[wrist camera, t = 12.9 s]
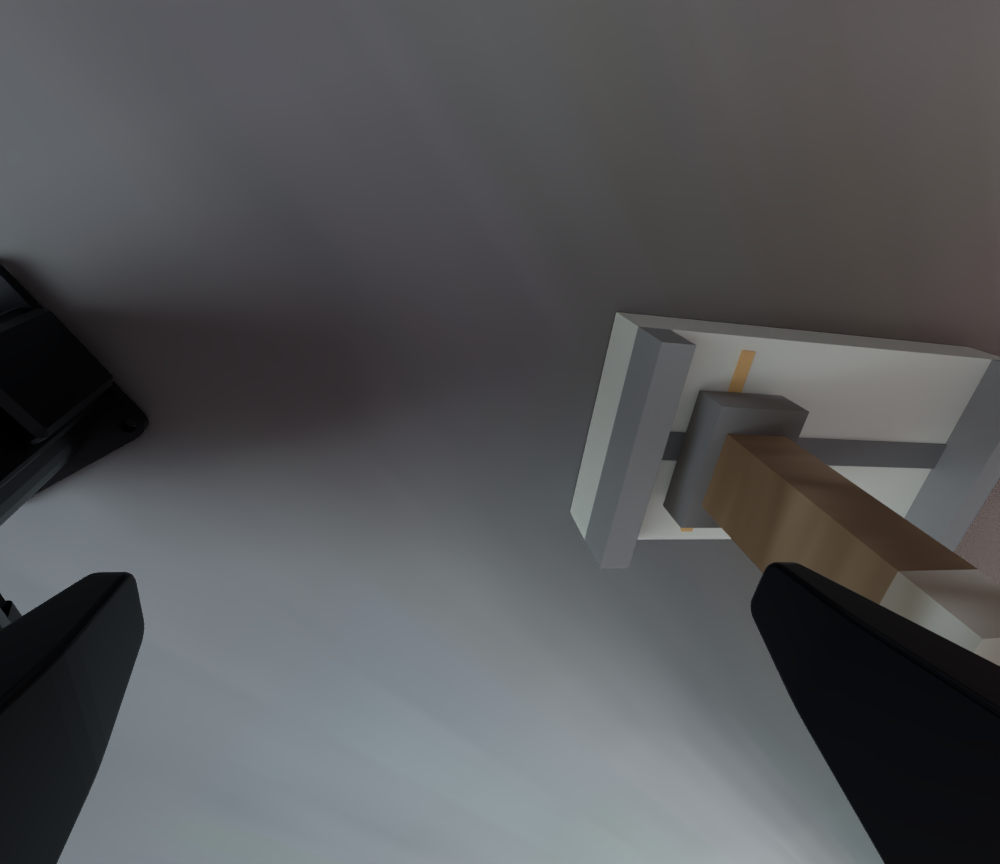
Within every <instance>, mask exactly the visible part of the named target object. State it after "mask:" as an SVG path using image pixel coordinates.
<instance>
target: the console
mask: <svg viewBox="0 0 1000 864" xmlns="http://www.w3.org/2000/svg"><path fill="white" fill-rule="evenodd" d="M699 390H706V391H721V392H736V393H752V394H767V395H782V396H784V397H785V398H787V399H789V400H790V401H792V402H794V403H795V404H797V405H799V406H800V407H802V408H804V409H805V410H807V411H809V414H808V416H807V419H806V421H805V424H804V426H803V428H802V431H801V433H800V435H799V438H798V440H797V443H796V444H797V445H799V446H800V447H802V448H803V449H805V450H806V451H808V452H809V453H810V454H812V455H813V456H815V457H816V458H818V459H819V460H821V461H822V462H823V463H825V464H826V465H828V466H829V467H831V468H832V469H834V470H835V471H836V472H838V473H839V474H841V475H842V476H844V477H845V478H847V479H848V480H849V481H851V482H852V483H854V484H855V485H857V486H858V487H860V488H861V489H863V490H864V491H865V492H867V493H868V494H870V495H871V496H873V497H874V498H876V499H877V500H878V501H880V502H881V503H883V504H884V505H886V506H887V507H889V508H890V509H891V510H893V511H894V512H896V513H897V514H899V515H900V516H902V517H903V518H904V519H906V520H907V521H909V522H910V523H912V524H913V525H915V526H916V527H918V528H919V529H920V530H922V531H923V532H925V533H926V534H928V535H929V536H931V537H932V538H933V539H935V540H936V541H938V542H939V543H941V544H942V545H944V546H945V547H946V548H948V549H949V550H951V551H952V552H954V551H955V549H956V547H957V546H958V544H959V543H960V541H961V539H962V538H963V536H964V534H965V533H966V531H967V530H968V528H969V526H970V525H971V523H972V522H973V520H974V518H975V517H976V515H977V514H978V512H979V510H980V509H981V507H982V506H983V504H984V502H985V501H986V499H987V498H988V496H989V494H990V493H991V491H992V490H993V488H994V486H995V485H996V483H997V482H998V480H999V478H1000V357H999V356H995V355H992V354H989V353H986V352H983V351H980V350H977V349H973V348H970V347H965V346H955V345H945V344H935V343H925V342H915V341H904V340H894V339H884V338H874V337H864V336H854V335H844V334H834V333H824V332H813V331H803V330H793V329H783V328H773V327H763V326H753V325H743V324H733V323H722V322H712V321H702V320H692V319H682V318H672V317H662V316H652V315H641V314H631V313H621V312H616V315H615V320H614V324H613V328H612V333H611V337H610V341H609V346H608V350H607V354H606V359H605V363H604V367H603V372H602V376H601V380H600V384H599V389H598V393H597V397H596V402H595V406H594V410H593V415H592V419H591V423H590V428H589V432H588V436H587V441H586V445H585V449H584V454H583V458H582V462H581V467H580V471H579V475H578V480H577V484H576V488H575V493H574V497H573V501H572V506H571V510H570V513H571V515H572V517H573V519H574V520H575V522H576V524H577V526H578V528H579V530H580V532H581V534H582V536H583V538H584V540H585V542H586V543H587V545H588V547H589V549H590V551H591V553H592V555H593V557H594V559H595V561H596V563H597V565H598V566H599V568H600V569H627V568H629V565H630V562H631V559H632V556H633V552H634V549H635V546H636V542H637V540H642V539H731V538H730V537H729V535H728V534H727V533H726V532H725V531H724V530H723V529H722V528H680V526H679V525H678V524H677V523H676V521H675V520H674V519H673V518H672V516H671V515H670V514H669V513H668V511H667V510H666V509H665V508H664V506H663V503H664V500H665V497H666V494H667V490H668V487H669V484H670V481H671V478H672V475H673V472H674V468H675V465H676V462H677V459H678V456H679V453H680V450H681V446H682V443H683V440H684V437H685V434H686V431H687V428H688V424H689V421H690V418H691V415H692V412H693V409H694V406H695V402H696V399H697V396H698V393H699Z"/></svg>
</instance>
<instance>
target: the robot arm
mask: <svg viewBox="0 0 1000 864" xmlns="http://www.w3.org/2000/svg"><path fill="white" fill-rule="evenodd" d="M124 419H130V420H131V421H133V422H134V423H135V425H136V427H129V426H128V425H126V424H125V422H124ZM148 425H149V421H148V418H147V416H146V415H145V414H144V412H143V411H142V410H141V409H140V408H139V407H138V406H137V405H136V404H135V403H134V402H133V401H132V400H131V399H130V398H129V397H128V396H127V395H126V394H125V393H124V392H123V391H122V390H121V389H120V387H119V386H118V385H117V384H116V383H115V382H114V381H113V380H112V375H111V374H110V373H109V372H108V371H107V369H106V368H105V367H104V366H103V365H102V364H101V363H100V362H99V361H98V360H97V359H96V358H95V357H94V356H93V355H92V354H91V353H90V352H89V351H88V350H87V349H86V348H85V346H84V345H83V344H82V343H81V342H80V341H79V340H78V339H77V338H76V337H75V336H74V335H73V334H72V333H71V332H70V331H69V330H68V329H67V328H66V327H65V326H64V325H63V323H62V322H61V321H60V320H59V319H58V318H57V317H56V316H55V315H54V314H53V313H52V312H50V311H47V310H45V309H44V308H43V307H42V306H41V305H40V304H39V303H38V302H37V301H36V300H35V299H34V298H33V297H32V296H31V295H30V294H29V293H28V292H27V291H26V290H25V289H24V288H23V287H22V286H21V284H20V283H19V282H18V281H17V280H16V279H15V278H14V277H13V276H12V275H11V274H10V273H9V272H8V271H7V270H6V269H5V268H4V267H3V266H2V265H1V264H0V526H1V525H2V524H3V523H4V522H5V521H6V520H7V519H8V518H9V517H10V516H11V515H13V514H14V513H15V512H16V511H17V510H18V509H19V508H20V507H21V506H22V505H23V504H24V503H25V502H26V501H27V500H28V499H29V498H31V497H32V496H33V495H34V494H36V493H38V492H40V491H41V490H43V489H45V488H47V487H49V486H51V485H52V484H54V483H56V482H58V481H60V480H61V479H63V478H65V477H67V476H69V475H71V474H72V473H74V472H76V471H78V470H80V469H81V468H83V467H85V466H87V465H89V464H91V463H92V462H94V461H96V460H98V459H100V458H102V457H103V456H105V455H107V454H109V453H111V452H112V451H114V450H116V449H118V448H120V447H122V446H123V445H125V444H127V443H129V442H131V441H132V440H134V439H136V438H138V437H139V436H140V435H142V434H143V433H144V431H145V430H146V429H147V428H148ZM751 613H752V616H753V619H754V621H755V623H756V625H757V627H758V630H759V632H760V634H761V636H762V638H763V640H764V642H765V645H766V647H767V649H768V651H769V653H770V655H771V657H772V660H773V662H774V664H775V666H776V668H777V670H778V672H779V675H780V677H781V679H782V681H783V683H784V685H785V687H786V689H787V692H788V694H789V696H790V698H791V700H792V702H793V704H794V706H795V708H796V710H797V712H798V713H799V715H800V717H801V719H802V721H803V723H804V724H805V726H806V728H807V730H808V731H809V733H810V735H811V737H812V738H813V740H814V742H815V744H816V745H817V747H818V749H819V751H820V752H821V754H822V756H823V757H824V759H825V761H826V763H827V764H828V766H829V768H830V770H831V771H832V773H833V775H834V777H835V778H836V780H837V782H838V784H839V785H840V787H841V789H842V791H843V792H844V794H845V796H846V798H847V799H848V801H849V803H850V804H851V806H852V808H853V810H854V811H855V813H856V815H857V817H858V818H859V820H860V822H861V824H862V825H863V827H864V829H865V831H866V832H867V834H868V836H869V838H870V839H871V841H872V843H873V845H874V846H875V848H876V850H877V851H878V853H879V855H880V857H881V858H882V860H883V862H884V864H1000V666H998V665H996V664H995V663H993V662H991V661H989V660H987V659H985V658H983V657H981V656H979V655H977V654H975V653H973V652H971V651H969V650H967V649H965V648H963V647H961V646H959V645H957V644H955V643H954V642H952V641H950V640H948V639H946V638H944V637H942V636H940V635H938V634H936V633H934V632H932V631H930V630H928V629H926V628H924V627H922V626H920V625H918V624H916V623H914V622H912V621H911V620H909V619H907V618H905V617H903V616H901V615H899V614H897V613H895V612H893V611H891V610H889V609H887V608H885V607H883V606H881V605H879V604H877V603H875V602H873V601H871V600H870V599H868V598H866V597H864V596H862V595H860V594H858V593H856V592H854V591H852V590H850V589H848V588H846V587H844V586H842V585H840V584H838V583H836V582H834V581H832V580H830V579H828V578H827V577H825V576H823V575H821V574H819V573H817V572H815V571H813V570H811V569H809V568H807V567H805V566H803V565H801V564H799V563H796V562H773V563H770V564H769V565H768V566H767V567H766V569H765V570H764V573H763V575H762V577H761V579H760V582H759V584H758V586H757V588H756V591H755V593H754V595H753V598H752V600H751ZM143 634H144V619H143V614H142V609H141V604H140V599H139V593H138V588H137V583H136V580H135V578H134V576H133V575H132V574H130V573H128V572H98V573H93V574H90V575H88V576H86V577H84V578H83V579H81V580H79V581H78V582H76V583H75V584H73V585H71V586H70V587H68V588H67V589H65V590H63V591H62V592H60V593H59V594H57V595H55V596H54V597H52V598H51V599H49V600H47V601H46V602H44V603H43V604H41V605H39V606H38V607H36V608H35V609H33V610H31V611H30V612H28V613H27V614H25V615H23V616H22V615H21V614H20V612H19V611H18V609H17V608H16V606H15V605H14V604H13V602H12V601H5V600H4V598H3V597H2V595H1V594H0V864H57V862H58V860H59V857H60V855H61V853H62V851H63V849H64V846H65V844H66V842H67V840H68V838H69V835H70V833H71V831H72V829H73V827H74V824H75V822H76V820H77V818H78V816H79V813H80V811H81V809H82V807H83V805H84V802H85V800H86V798H87V796H88V794H89V791H90V789H91V787H92V784H93V782H94V779H95V777H96V775H97V772H98V770H99V767H100V765H101V762H102V759H103V756H104V753H105V751H106V748H107V745H108V742H109V739H110V736H111V733H112V730H113V727H114V724H115V721H116V718H117V715H118V712H119V709H120V706H121V703H122V700H123V697H124V694H125V691H126V688H127V685H128V682H129V679H130V676H131V673H132V670H133V667H134V664H135V661H136V658H137V655H138V652H139V649H140V646H141V643H142V639H143Z"/></svg>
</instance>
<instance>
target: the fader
mask: <svg viewBox="0 0 1000 864" xmlns="http://www.w3.org/2000/svg"><path fill="white" fill-rule="evenodd" d="M808 414H809V411H807V410H805V409H804V408H802V407H800V406H799V405H797V404H795V403H794V402H792V401H790V400H789V399H787V398H785V397H784V396H782V395H767V394H752V393H736V392H721V391H706V390H699V393H698V396H697V399H696V402H695V406H694V409H693V412H692V415H691V418H690V421H689V424H688V428H687V431H686V434H685V437H684V440H683V443H682V446H681V450H680V453H679V456H678V459H677V462H676V465H675V468H674V472H673V475H672V478H671V481H670V484H669V487H668V490H667V494H666V497H665V500H664V503H663V506H664V508H665V509H666V510H667V511H668V513H669V514H670V515H671V516H672V518H673V519H674V520H675V521H676V523H677V524H678V525H679V526H680V528H722V529H723V530H724V531H725V532H726V533H727V534H728V535H729V537H730V538H731V539H732V540H733V541H734V542H735V543H736V544H737V545H738V546H739V548H740V549H741V550H742V551H743V552H744V553H745V554H746V555H747V556H748V557H749V559H750V560H751V561H752V562H753V563H754V564H755V565H756V566H757V567H758V568H759V569H760V571H761V572H762V573H764V570H765V569H766V567H767V566H768V565H769V564H770V563H773V562H796V563H799V564H801V565H803V566H805V567H807V568H809V569H811V570H813V571H815V572H817V573H819V574H821V575H823V576H825V577H827V578H828V579H830V580H832V581H834V582H836V583H838V584H840V585H842V586H844V587H846V588H848V589H850V590H852V591H854V592H856V593H858V594H860V595H862V596H864V597H866V598H868V599H870V600H871V601H873V602H875V603H877V604H879V605H881V606H883V607H885V608H887V609H889V610H891V611H893V612H895V613H897V614H899V615H901V616H903V617H905V618H907V619H909V620H911V621H912V622H914V623H916V624H918V625H920V626H922V627H924V628H926V629H928V630H930V631H932V632H934V633H936V634H938V635H940V636H942V637H944V638H946V639H948V640H950V641H952V642H954V643H955V644H957V645H959V646H961V647H963V648H965V649H967V650H969V651H971V652H973V653H975V654H977V655H979V656H981V657H983V658H985V659H987V660H989V661H991V662H993V663H995V664H996V665H998V666H1000V584H999V583H997V582H996V581H994V580H993V579H991V578H990V577H988V576H987V575H986V574H984V573H983V572H981V571H980V570H978V569H977V568H975V567H974V566H973V565H971V564H970V563H968V562H967V561H965V560H964V559H962V558H961V557H959V556H958V555H957V554H955V553H954V552H952V551H951V550H949V549H948V548H946V547H945V546H944V545H942V544H941V543H939V542H938V541H936V540H935V539H933V538H932V537H931V536H929V535H928V534H926V533H925V532H923V531H922V530H920V529H919V528H918V527H916V526H915V525H913V524H912V523H910V522H909V521H907V520H906V519H904V518H903V517H902V516H900V515H899V514H897V513H896V512H894V511H893V510H891V509H890V508H889V507H887V506H886V505H884V504H883V503H881V502H880V501H878V500H877V499H876V498H874V497H873V496H871V495H870V494H868V493H867V492H865V491H864V490H863V489H861V488H860V487H858V486H857V485H855V484H854V483H852V482H851V481H849V480H848V479H847V478H845V477H844V476H842V475H841V474H839V473H838V472H836V471H835V470H834V469H832V468H831V467H829V466H828V465H826V464H825V463H823V462H822V461H821V460H819V459H818V458H816V457H815V456H813V455H812V454H810V453H809V452H808V451H806V450H805V449H803V448H802V447H800V446H799V445H797V444H796V443H797V440H798V438H799V435H800V433H801V431H802V428H803V426H804V424H805V421H806V419H807V416H808Z"/></svg>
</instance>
